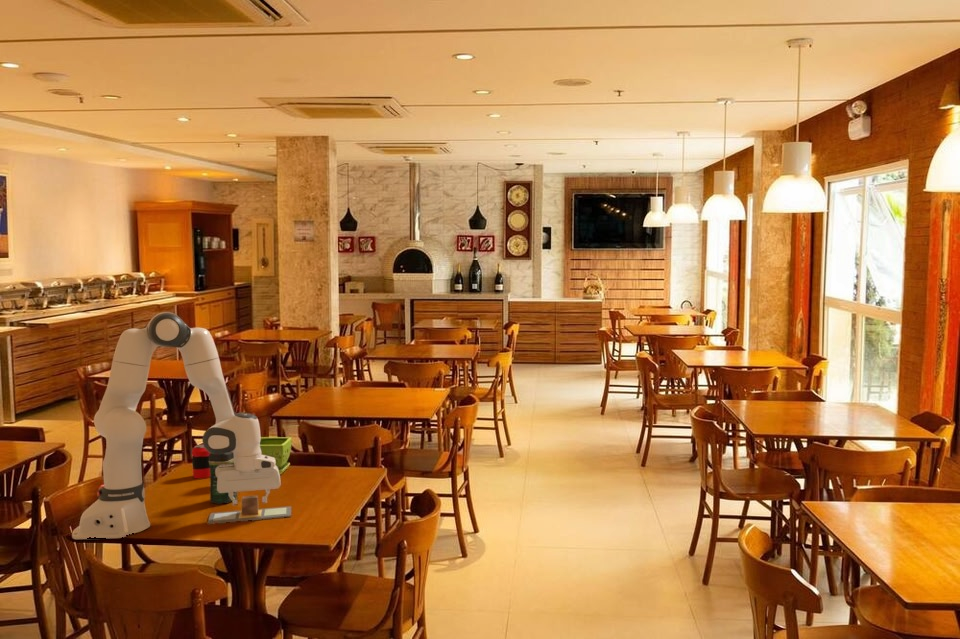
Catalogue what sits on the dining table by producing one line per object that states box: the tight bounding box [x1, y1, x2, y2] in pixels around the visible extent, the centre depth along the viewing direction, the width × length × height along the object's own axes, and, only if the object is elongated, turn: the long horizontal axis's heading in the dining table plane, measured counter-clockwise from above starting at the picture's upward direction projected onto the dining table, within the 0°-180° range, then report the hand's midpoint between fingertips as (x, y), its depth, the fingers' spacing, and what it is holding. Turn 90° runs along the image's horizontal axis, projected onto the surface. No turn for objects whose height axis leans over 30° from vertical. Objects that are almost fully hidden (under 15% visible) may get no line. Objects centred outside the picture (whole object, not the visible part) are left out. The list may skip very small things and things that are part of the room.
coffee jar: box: [209, 452, 238, 505], centre depth 294 cm, size 10×8×19 cm
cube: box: [240, 494, 260, 516], centre depth 277 cm, size 5×5×5 cm
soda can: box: [191, 444, 210, 480], centre depth 328 cm, size 8×8×12 cm
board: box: [206, 505, 292, 525], centre depth 276 cm, size 26×10×1 cm, turn 102°
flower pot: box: [260, 436, 293, 476], centre depth 331 cm, size 14×14×13 cm
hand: (250, 503), depth 277 cm, fingers open, 8 cm apart
